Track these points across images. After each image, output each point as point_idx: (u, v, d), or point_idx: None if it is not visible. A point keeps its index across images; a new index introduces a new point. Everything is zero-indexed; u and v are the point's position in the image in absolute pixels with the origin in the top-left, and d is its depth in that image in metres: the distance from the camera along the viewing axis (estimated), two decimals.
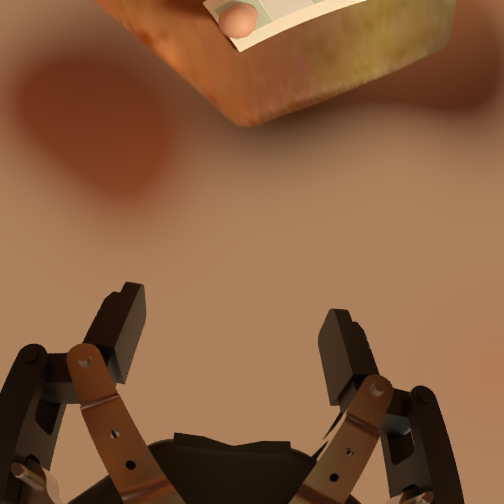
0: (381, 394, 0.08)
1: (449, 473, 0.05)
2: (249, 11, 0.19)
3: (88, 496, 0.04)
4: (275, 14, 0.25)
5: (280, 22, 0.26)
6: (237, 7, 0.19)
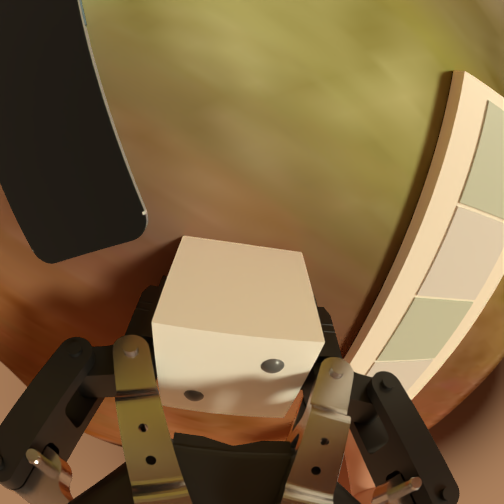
0: (339, 377, 0.09)
1: (431, 454, 0.06)
2: None
3: (87, 496, 0.04)
4: None
5: None
6: None
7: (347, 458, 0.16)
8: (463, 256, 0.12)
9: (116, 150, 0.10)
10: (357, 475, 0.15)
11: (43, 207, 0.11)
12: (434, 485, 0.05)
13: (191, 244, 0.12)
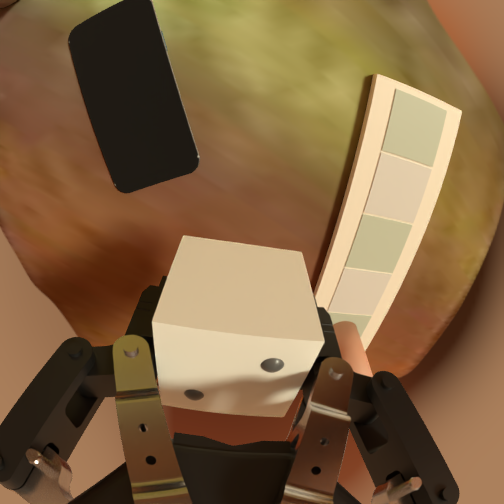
0: (339, 376, 0.09)
1: (431, 454, 0.06)
2: None
3: (88, 497, 0.04)
4: (368, 311, 0.27)
5: (378, 310, 0.27)
6: None
7: None
8: (393, 186, 0.20)
9: (185, 121, 0.19)
10: None
11: (130, 154, 0.20)
12: (434, 485, 0.05)
13: (191, 244, 0.12)
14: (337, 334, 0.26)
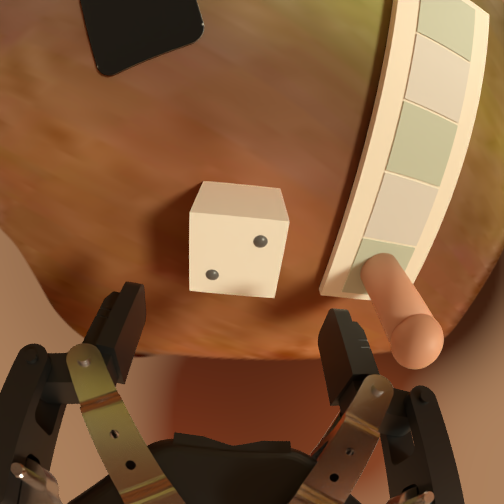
0: (381, 394, 0.08)
1: (449, 473, 0.05)
2: (427, 328, 0.14)
3: (87, 496, 0.04)
4: (412, 239, 0.20)
5: (423, 240, 0.20)
6: (410, 337, 0.14)
7: (375, 298, 0.18)
8: (433, 73, 0.14)
9: None
10: (391, 307, 0.17)
11: (120, 29, 0.13)
12: None
13: (209, 184, 0.18)
14: (378, 267, 0.20)
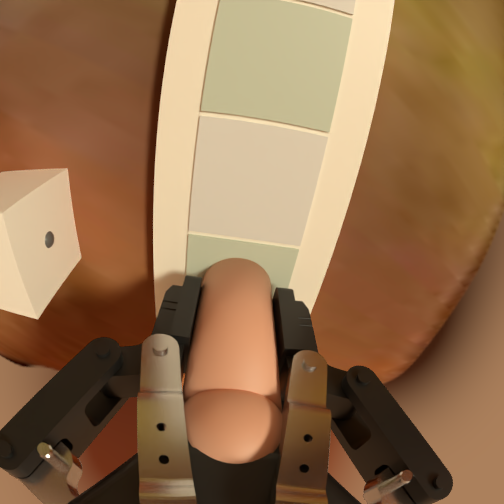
0: (311, 370, 0.09)
1: (417, 445, 0.06)
2: (219, 428, 0.06)
3: (88, 497, 0.04)
4: (288, 235, 0.13)
5: (314, 236, 0.13)
6: None
7: None
8: None
9: None
10: (190, 362, 0.09)
11: None
12: (425, 475, 0.05)
13: (1, 174, 0.11)
14: (210, 283, 0.12)
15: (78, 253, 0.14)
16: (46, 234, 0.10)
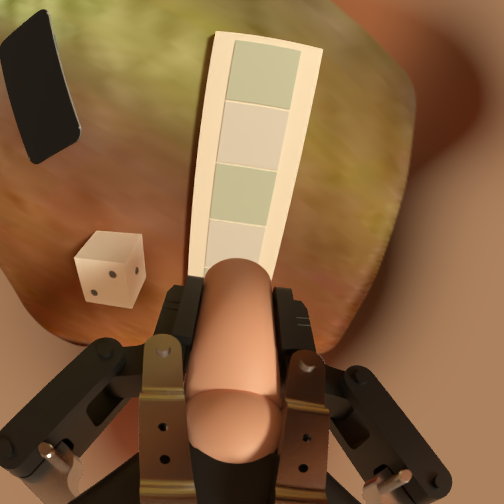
0: (309, 369, 0.09)
1: (416, 445, 0.06)
2: (219, 429, 0.06)
3: (88, 497, 0.04)
4: None
5: None
6: None
7: None
8: (244, 133, 0.21)
9: (69, 101, 0.19)
10: (191, 363, 0.09)
11: (36, 132, 0.21)
12: (425, 475, 0.05)
13: (98, 233, 0.26)
14: (211, 283, 0.12)
15: (145, 275, 0.29)
16: (136, 268, 0.26)
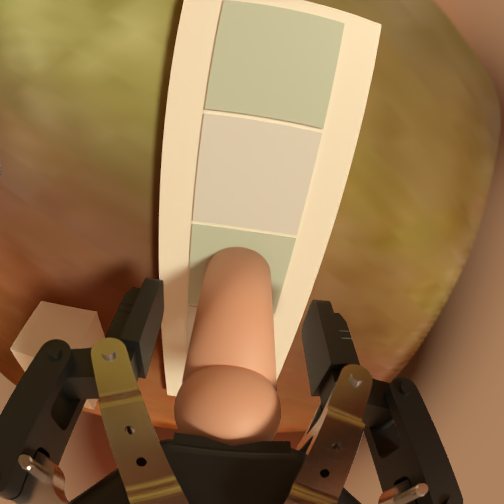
0: (359, 384, 0.09)
1: (439, 462, 0.06)
2: (216, 400, 0.07)
3: (88, 497, 0.04)
4: None
5: None
6: (183, 407, 0.07)
7: None
8: (239, 172, 0.12)
9: None
10: (192, 342, 0.10)
11: None
12: (439, 493, 0.05)
13: (42, 306, 0.17)
14: (213, 270, 0.13)
15: None
16: None
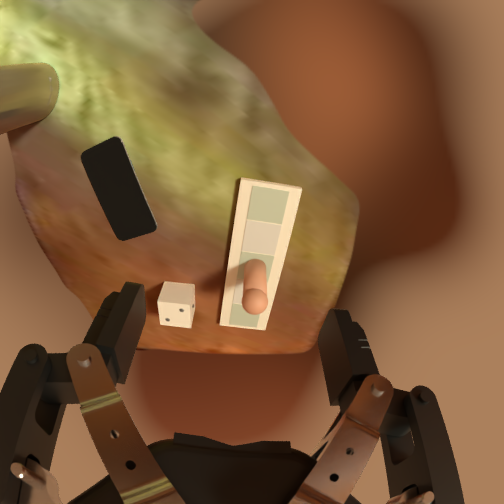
0: (381, 394, 0.08)
1: (448, 473, 0.05)
2: (253, 294, 0.37)
3: (88, 497, 0.04)
4: None
5: None
6: (245, 297, 0.37)
7: None
8: (256, 236, 0.41)
9: (147, 207, 0.40)
10: (245, 285, 0.39)
11: (123, 222, 0.41)
12: None
13: (166, 283, 0.46)
14: (248, 266, 0.42)
15: None
16: (192, 305, 0.46)
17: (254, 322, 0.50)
